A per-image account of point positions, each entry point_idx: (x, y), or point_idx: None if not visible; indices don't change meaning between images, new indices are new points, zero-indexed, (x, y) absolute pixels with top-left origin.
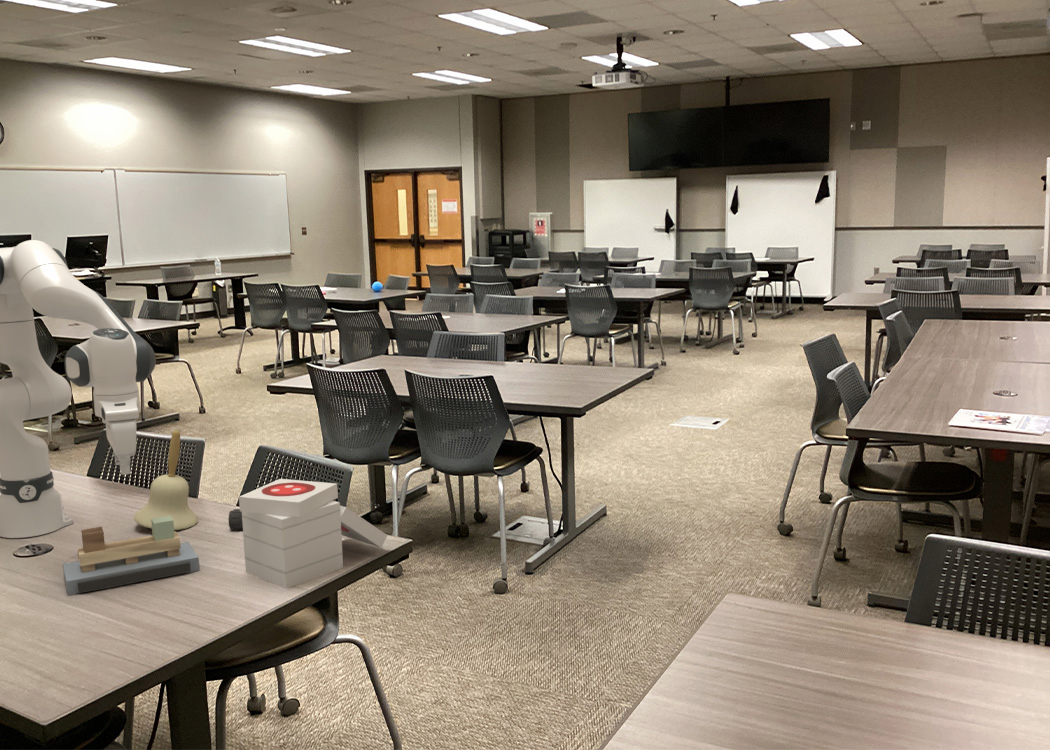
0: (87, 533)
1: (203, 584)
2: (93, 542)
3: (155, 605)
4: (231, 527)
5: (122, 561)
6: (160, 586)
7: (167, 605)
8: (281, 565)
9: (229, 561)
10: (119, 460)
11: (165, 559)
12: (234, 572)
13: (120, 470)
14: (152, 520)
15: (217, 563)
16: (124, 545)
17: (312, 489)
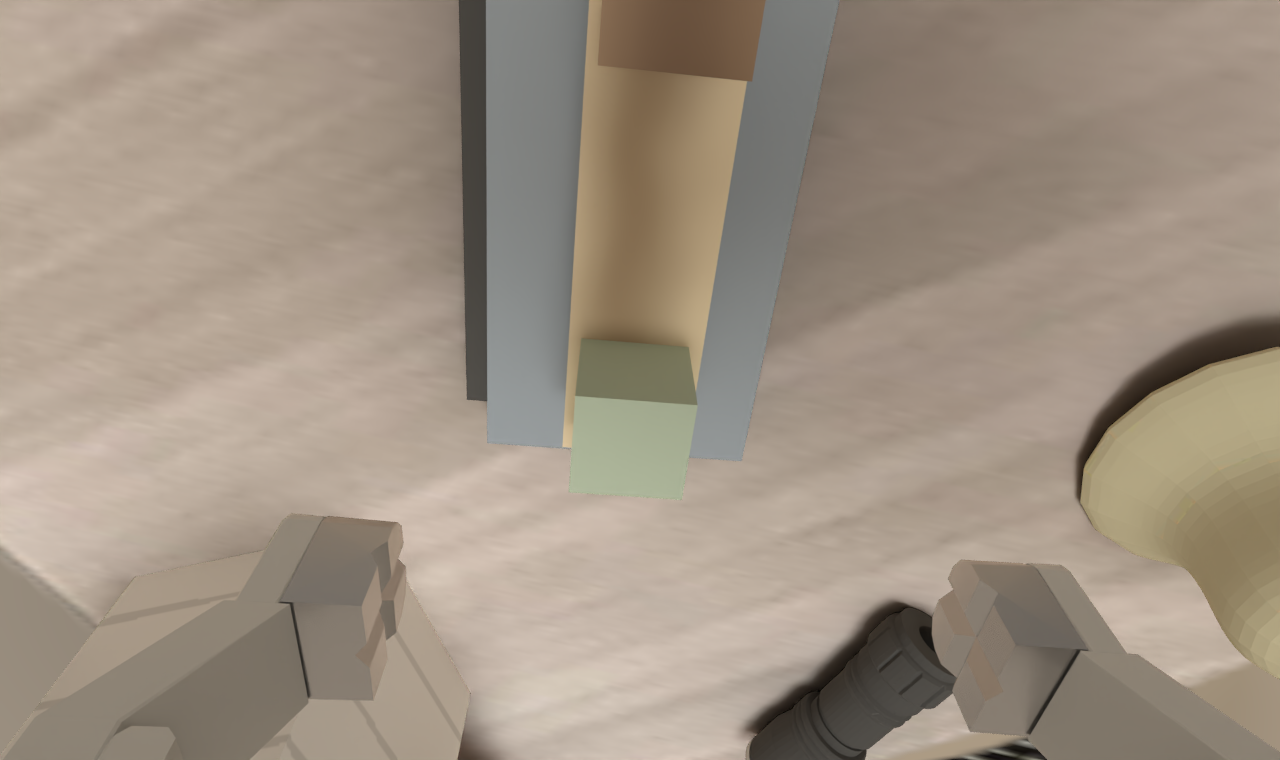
0: None
1: (311, 379)
2: None
3: (122, 150)
4: (896, 616)
5: None
6: (378, 229)
7: (102, 196)
8: (103, 639)
9: (536, 515)
10: (113, 702)
11: (547, 323)
12: (395, 497)
13: (337, 545)
14: (651, 403)
15: (541, 478)
16: (612, 174)
17: None
